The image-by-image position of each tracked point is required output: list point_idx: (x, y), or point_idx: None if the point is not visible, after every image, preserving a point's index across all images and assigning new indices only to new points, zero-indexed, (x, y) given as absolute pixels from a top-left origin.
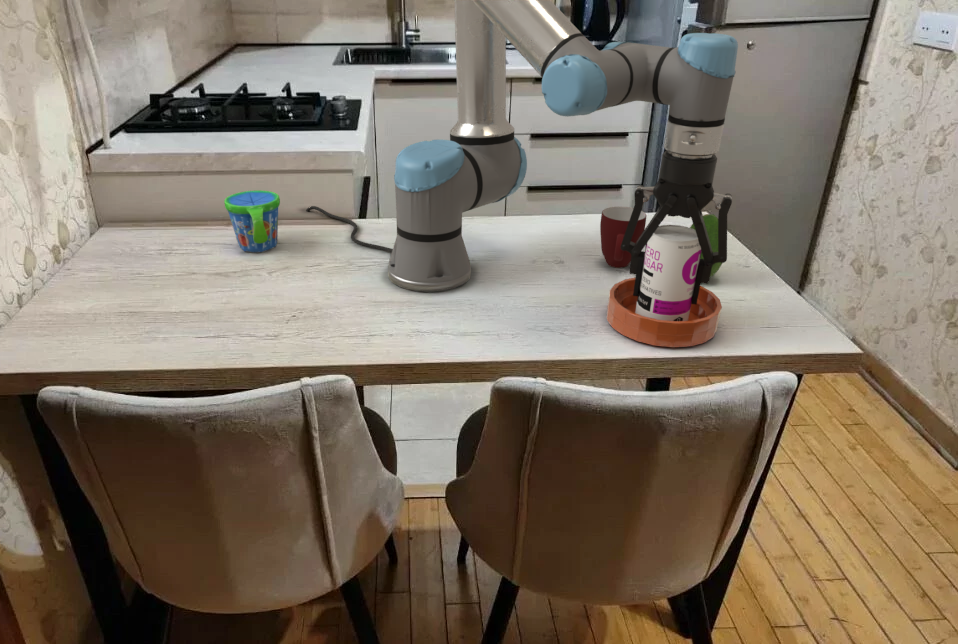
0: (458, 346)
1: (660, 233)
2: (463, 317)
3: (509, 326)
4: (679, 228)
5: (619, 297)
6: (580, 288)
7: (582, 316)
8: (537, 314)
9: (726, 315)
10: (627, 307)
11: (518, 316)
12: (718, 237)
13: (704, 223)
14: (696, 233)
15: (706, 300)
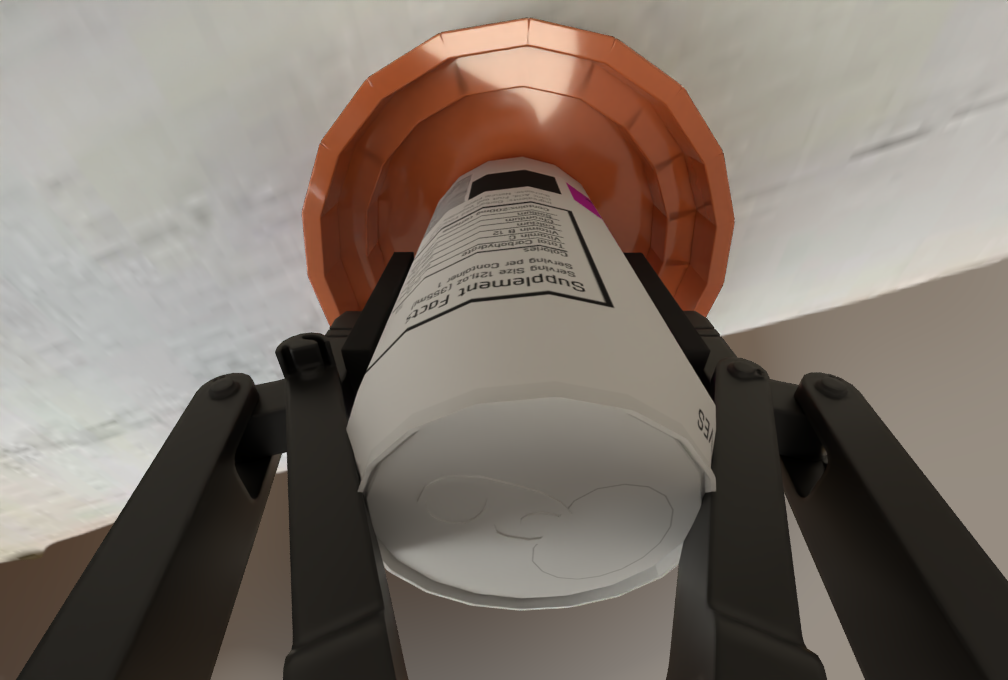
0: (129, 472)
1: (425, 536)
2: (15, 373)
3: (148, 380)
4: (561, 429)
5: (349, 211)
6: (136, 10)
7: (280, 271)
8: (159, 300)
9: (760, 87)
10: (390, 175)
11: (124, 327)
12: (824, 584)
13: (790, 589)
14: (676, 596)
15: (687, 155)
